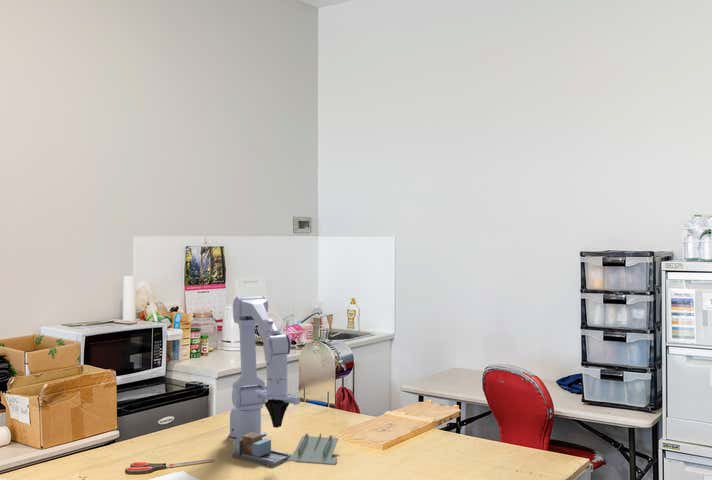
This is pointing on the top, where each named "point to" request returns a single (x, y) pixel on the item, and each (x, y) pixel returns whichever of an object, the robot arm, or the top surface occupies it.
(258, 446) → the block
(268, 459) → the vise
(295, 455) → the metal bracket
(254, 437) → the block
